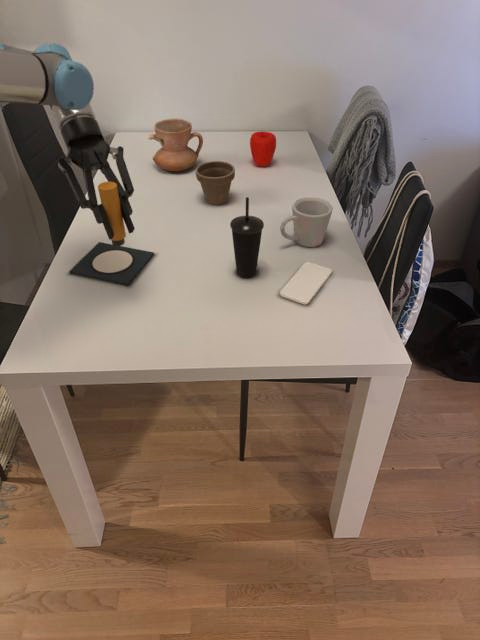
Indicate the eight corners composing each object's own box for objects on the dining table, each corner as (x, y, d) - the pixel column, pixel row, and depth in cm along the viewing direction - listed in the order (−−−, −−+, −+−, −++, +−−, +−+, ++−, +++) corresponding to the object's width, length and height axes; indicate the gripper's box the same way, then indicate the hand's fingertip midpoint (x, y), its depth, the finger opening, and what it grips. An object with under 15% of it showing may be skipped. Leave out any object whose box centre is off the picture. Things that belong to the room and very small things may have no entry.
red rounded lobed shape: (272, 158, 169) (274, 127, 162) (277, 168, 163) (279, 137, 155) (247, 159, 168) (248, 128, 161) (251, 170, 162) (252, 138, 154)
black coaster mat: (69, 273, 117) (69, 270, 116) (99, 244, 127) (98, 241, 126) (128, 286, 113) (127, 283, 112) (154, 254, 123) (153, 251, 122)
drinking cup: (238, 285, 113) (238, 209, 100) (226, 268, 119) (224, 193, 105) (267, 277, 116) (270, 202, 102) (253, 260, 121) (255, 187, 108)
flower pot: (209, 213, 139) (207, 180, 133) (190, 197, 147) (188, 166, 140) (242, 203, 144) (242, 171, 137) (222, 188, 151) (222, 157, 145)
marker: (106, 245, 100) (94, 188, 92) (115, 237, 103) (103, 180, 94) (122, 248, 99) (110, 190, 91) (130, 239, 102) (120, 182, 93)
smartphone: (278, 293, 110) (306, 261, 119) (278, 295, 110) (305, 263, 120) (307, 303, 107) (333, 269, 117) (306, 306, 107) (332, 272, 117)
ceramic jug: (151, 177, 157) (146, 133, 148) (151, 159, 168) (146, 118, 159) (206, 174, 159) (204, 131, 150) (202, 156, 170) (200, 115, 161)
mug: (336, 243, 127) (341, 209, 121) (290, 259, 122) (293, 225, 115) (312, 226, 134) (316, 193, 127) (268, 240, 128) (269, 207, 122)
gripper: (115, 126, 102) (156, 228, 103) (36, 142, 96) (80, 250, 96) (120, 107, 95) (163, 217, 96) (35, 123, 89) (82, 240, 89)
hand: (121, 233), depth 96 cm, fingers closed on marker, 4 cm apart
